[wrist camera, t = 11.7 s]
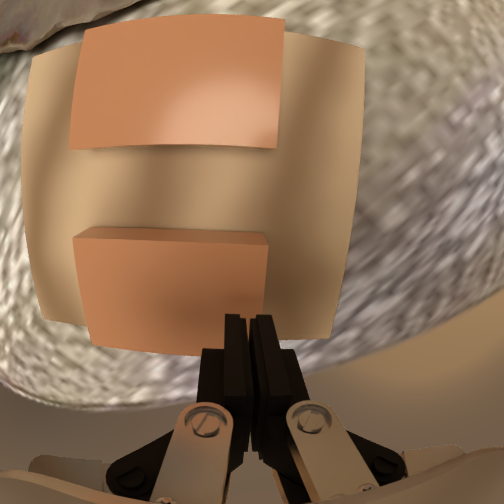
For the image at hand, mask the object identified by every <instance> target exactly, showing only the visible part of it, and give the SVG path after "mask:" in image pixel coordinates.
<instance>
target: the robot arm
mask: <svg viewBox="0 0 504 504" xmlns="http://www.w3.org/2000/svg"><path fill="white" fill-rule="evenodd" d="M250 433H251V443H252V451H255V452H256V451H258V453H259V459H263V462H264V463H265V464H267V465H268V466H270V467H272V472H273V476H274V478H275V481H276V484H277V487H278V489H279V493H280V495H281V498H282V501H283V503H284V504H504V447H488V448H483V449H479V450H474V451H471V452H469V453H466V454H465V453H464V451H463V449H461V448H460V447H459V446H457V445H454V444H446V445H441V446H436V447H429V448H422V449H415V450H404V451H403V452H402V453H401V454H398V453H396V452H394V451H392V450H390V449H388V448H385V447H383V446H381V445H378V444H376V443H374V442H371V441H369V440H367V439H364V438H362V437H360V436H358V435H356V434H353V433H351V432H349V431H347V430H345V428H344V426H343V425H342V423H341V421H340V420H339V418H338V416H337V415H336V413H335V412H334V411H333V410H332V408H331V407H329V406H328V405H326V404H324V403H322V402H319V401H312V400H310V398H309V395H308V393H307V389H306V386H305V383H304V380H303V376H302V373H301V370H300V367H299V364H298V360H297V357H296V354H295V352H294V350H293V349H280V345H279V341H278V337H277V333H276V329H275V325H274V321H273V318H272V315H267V314H256V318H250V326H249V339H248V334H247V324H246V318H240V314H225V327H224V349H212V348H202V355H201V363H200V372H199V382H198V392H197V402H196V403H194V404H192V405H190V406H188V407H186V408H185V409H184V410H183V411H182V412H181V414H180V415H179V418H178V420H177V423H176V426H175V429H174V430H172V431H170V432H169V433H167V434H165V435H164V436H162V437H160V438H158V439H156V440H155V441H153V442H151V443H149V444H147V445H145V446H144V447H142V448H140V449H138V450H136V451H134V452H132V453H130V454H128V455H126V456H124V457H122V458H120V459H118V460H116V461H115V462H114V463H112V464H105V463H103V462H102V461H99V460H84V459H73V458H65V457H58V456H51V455H40V456H38V457H36V458H34V459H33V460H32V461H31V463H30V466H29V470H28V472H27V471H20V470H0V504H227V498H228V491H229V486H230V479H231V472H232V471H233V470H235V469H236V468H237V467H238V466H240V465H241V464H242V463H243V455H244V452H248V444H249V436H250Z"/></svg>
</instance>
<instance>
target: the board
mask: <svg viewBox="0 0 504 504" xmlns="http://www.w3.org/2000/svg"><path fill="white" fill-rule="evenodd" d="M81 47H82V42H79V43H76V44H72V45H68V46H65V47H61V48H58V49H55V50H52V51H49V52H46V53H43V54H40V55H37V56H35V57H33V60H32V65H31V69H30V75H29V80H28V86H27V92H26V100H25V108H24V117H23V129H22V147H21V185H22V203H23V216H24V225H25V234H26V241H27V248H28V254H29V260H30V265H31V271H32V276H33V280H34V285H35V289H36V293H37V297H38V301H39V305H40V309H41V313H42V316H43V319H47V320H52V321H58V322H63V323H69V324H75V325H81V326H87V322H86V318H85V313H84V309H83V304H82V299H81V294H80V289H79V283H78V277H77V271H76V265H75V257H74V250H73V241H72V238H73V237H74V236H76V235H77V234H79V233H81V232H83V231H84V230H86V229H88V228H89V227H117V228H154V229H184V230H210V231H233V232H254V233H264V236H265V238H266V240H267V243H268V245H269V246H268V257H267V268H266V278H265V289H264V299H263V309H262V314H267V315H272V318H273V321H274V325H275V329H276V333H277V337H278V340H299V339H328V338H330V334H331V330H332V326H333V322H334V318H335V314H336V309H337V305H338V300H339V295H340V291H341V286H342V281H343V276H344V271H345V265H346V260H347V254H348V249H349V243H350V237H351V230H352V224H353V217H354V210H355V202H356V194H357V186H358V177H359V167H360V157H361V145H362V131H363V114H364V83H365V52H364V49H363V48H360V47H356V46H353V45H349V44H345V43H341V42H337V41H333V40H328V39H324V38H319V37H314V36H309V35H303V34H297V33H291V32H284V45H283V62H282V78H281V93H280V108H279V122H278V136H277V149H272V150H265V149H252V148H235V147H212V146H144V147H122V148H106V149H93V150H69V136H70V121H71V110H72V101H73V93H74V85H75V79H76V73H77V67H78V61H79V56H80V51H81ZM87 327H88V326H87Z"/></svg>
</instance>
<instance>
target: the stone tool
mask: <svg viewBox="0 0 504 504" xmlns="http://www.w3.org/2000/svg"><path fill="white" fill-rule="evenodd" d="M137 1H140V0H0V54H2V53H8V52H14V51H16V50H25V51H29V50H31V49H33V48H34V47H35V46H36V45H38V44H40V43H41V42H43V41H44V40H46V39H47V38H49V37H50V36H51V35H53V34H54V33H56V32H58V31H59V30H61V29H63V28H65V27H67V26H70V25H74V24H79V23H85V22H91V21H95V20H98V19H100V18H102V17H104V16H107V15H109V14H111V13H113V12H115V11H118V10H120V9H123V8H126V7H128V6H130V5H132V4H134V3H135V2H137Z"/></svg>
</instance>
